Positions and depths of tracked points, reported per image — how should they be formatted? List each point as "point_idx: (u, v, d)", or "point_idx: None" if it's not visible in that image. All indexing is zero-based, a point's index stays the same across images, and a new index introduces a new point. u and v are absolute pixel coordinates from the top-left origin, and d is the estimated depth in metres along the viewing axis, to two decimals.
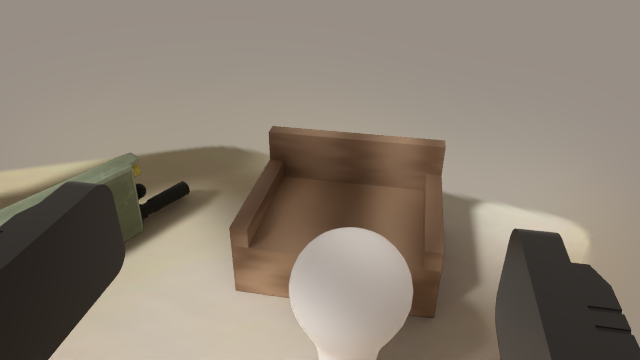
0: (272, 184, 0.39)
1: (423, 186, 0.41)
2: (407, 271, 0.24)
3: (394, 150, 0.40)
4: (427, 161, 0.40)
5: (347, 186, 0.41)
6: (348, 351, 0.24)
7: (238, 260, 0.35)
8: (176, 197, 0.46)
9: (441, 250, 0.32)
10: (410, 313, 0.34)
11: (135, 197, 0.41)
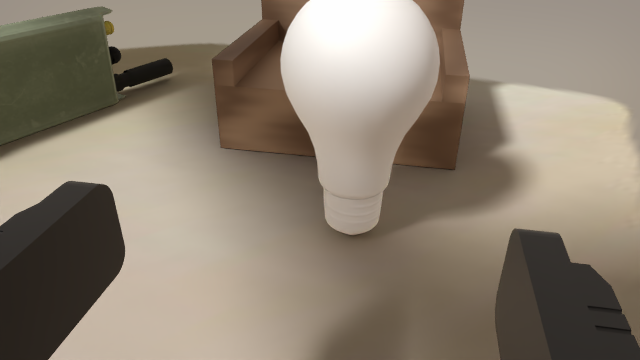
0: (264, 35, 0.34)
1: (438, 44, 0.35)
2: None
3: None
4: (444, 11, 0.34)
5: None
6: (357, 126, 0.18)
7: (223, 105, 0.30)
8: (156, 73, 0.40)
9: (466, 74, 0.26)
10: (426, 165, 0.29)
11: (107, 56, 0.35)
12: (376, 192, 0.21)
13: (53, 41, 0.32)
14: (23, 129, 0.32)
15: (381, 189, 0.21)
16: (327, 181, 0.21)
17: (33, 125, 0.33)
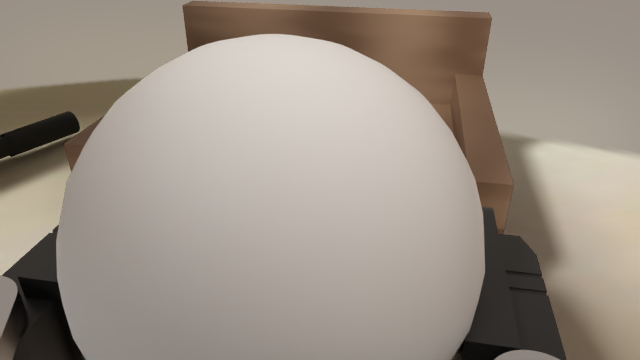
0: None
1: (450, 97, 0.23)
2: (470, 171, 0.07)
3: (399, 29, 0.22)
4: (458, 48, 0.22)
5: None
6: None
7: None
8: (52, 135, 0.28)
9: (506, 180, 0.14)
10: None
11: None
12: None
13: None
14: None
15: None
16: None
17: None
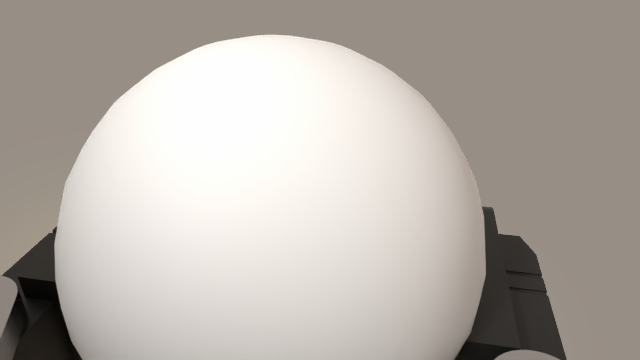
0: None
1: None
2: (471, 172, 0.07)
3: None
4: None
5: None
6: None
7: None
8: None
9: None
10: None
11: None
12: None
13: None
14: None
15: None
16: None
17: None
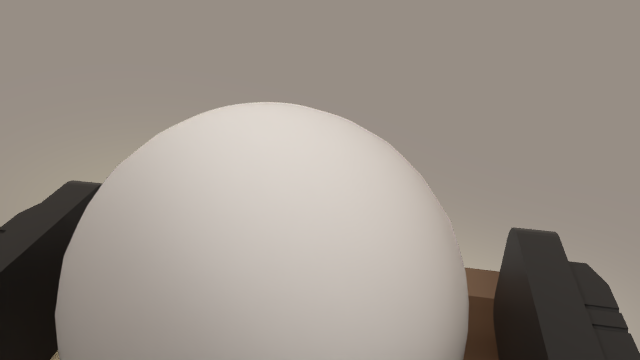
0: None
1: None
2: (451, 232, 0.07)
3: None
4: None
5: None
6: None
7: None
8: None
9: None
10: None
11: None
12: None
13: None
14: None
15: None
16: None
17: None
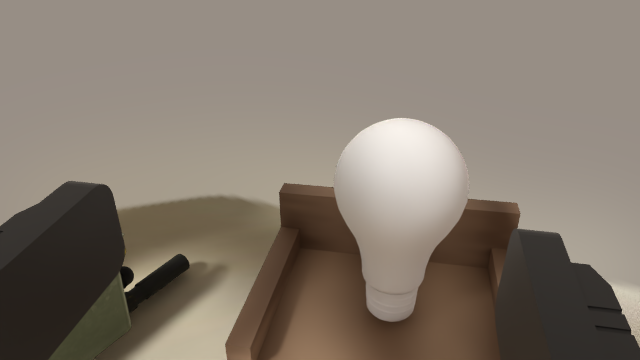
0: (285, 266, 0.29)
1: (487, 263, 0.30)
2: None
3: None
4: (494, 231, 0.29)
5: None
6: (399, 243, 0.22)
7: None
8: (172, 277, 0.35)
9: None
10: None
11: (120, 288, 0.30)
12: (413, 289, 0.25)
13: None
14: None
15: (417, 285, 0.25)
16: (370, 278, 0.25)
17: None
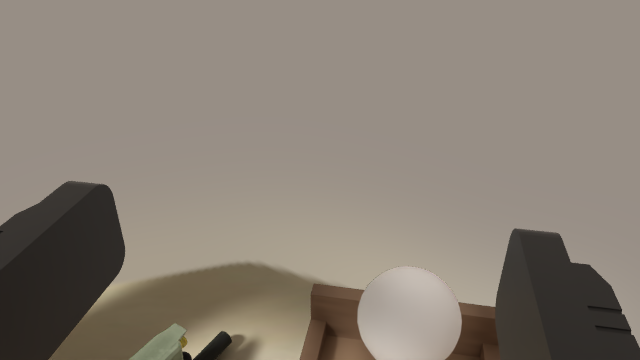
0: None
1: (479, 354, 0.38)
2: (457, 304, 0.29)
3: None
4: (485, 331, 0.36)
5: None
6: None
7: None
8: (219, 353, 0.42)
9: None
10: None
11: None
12: None
13: None
14: None
15: None
16: None
17: None
